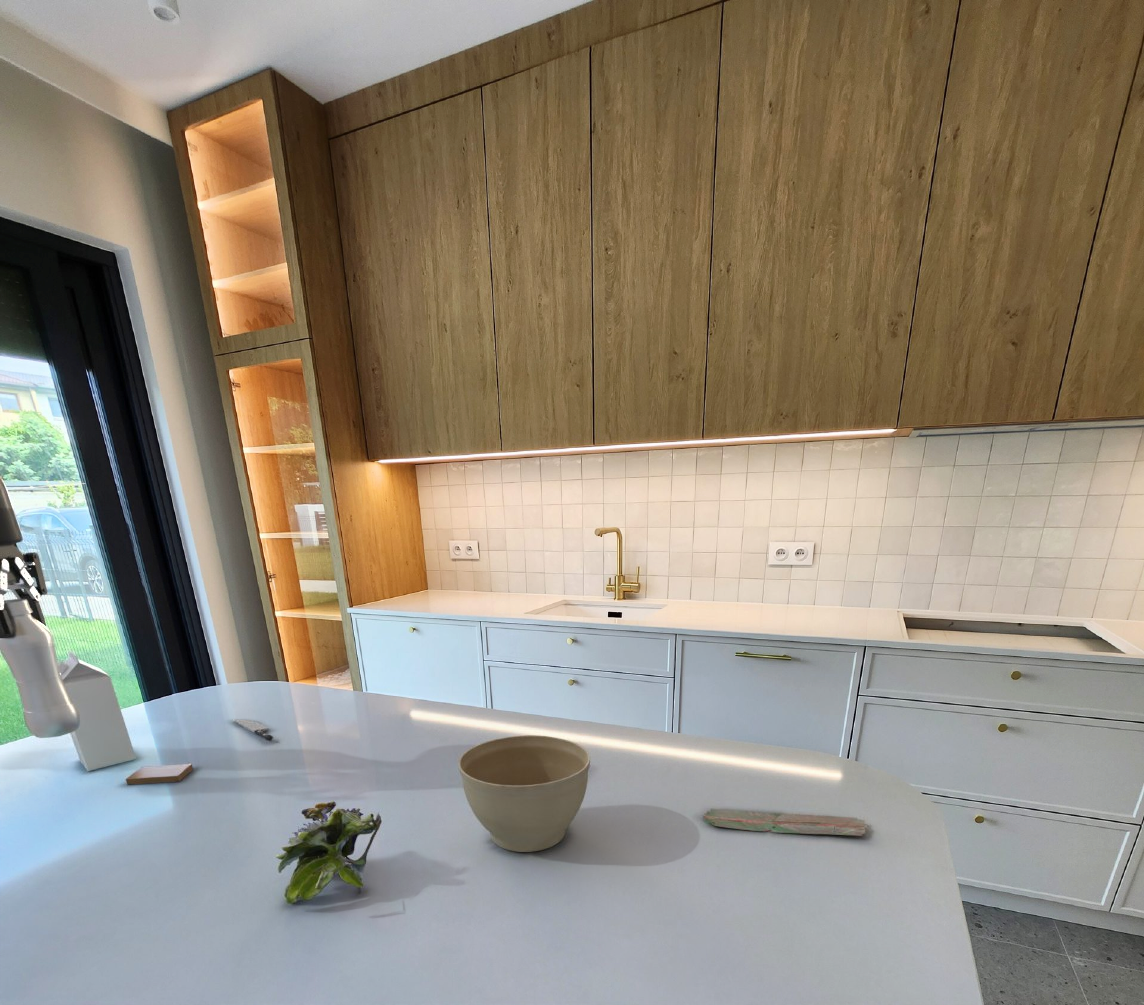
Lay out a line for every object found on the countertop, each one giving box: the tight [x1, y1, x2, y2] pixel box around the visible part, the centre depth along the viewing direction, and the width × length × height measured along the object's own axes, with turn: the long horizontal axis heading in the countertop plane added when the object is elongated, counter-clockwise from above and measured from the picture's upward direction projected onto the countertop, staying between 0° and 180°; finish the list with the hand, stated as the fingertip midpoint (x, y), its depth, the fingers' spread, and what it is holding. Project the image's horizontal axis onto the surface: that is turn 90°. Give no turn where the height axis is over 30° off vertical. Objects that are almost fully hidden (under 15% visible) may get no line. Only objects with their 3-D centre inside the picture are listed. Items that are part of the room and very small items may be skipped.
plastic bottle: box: [0, 598, 80, 739], centre depth 95 cm, size 6×7×20 cm
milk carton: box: [57, 649, 137, 772], centre depth 109 cm, size 7×7×19 cm
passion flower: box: [275, 801, 382, 905], centre depth 74 cm, size 11×11×12 cm
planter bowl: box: [457, 734, 591, 853], centre depth 82 cm, size 16×16×11 cm
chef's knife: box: [232, 719, 274, 742], centre depth 125 cm, size 19×1×3 cm
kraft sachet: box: [125, 763, 194, 786], centre depth 105 cm, size 8×5×1 cm, turn 95°
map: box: [700, 808, 868, 837], centre depth 84 cm, size 5×20×1 cm, turn 77°
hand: (21, 632), depth 92 cm, fingers closed on plastic bottle, 6 cm apart
